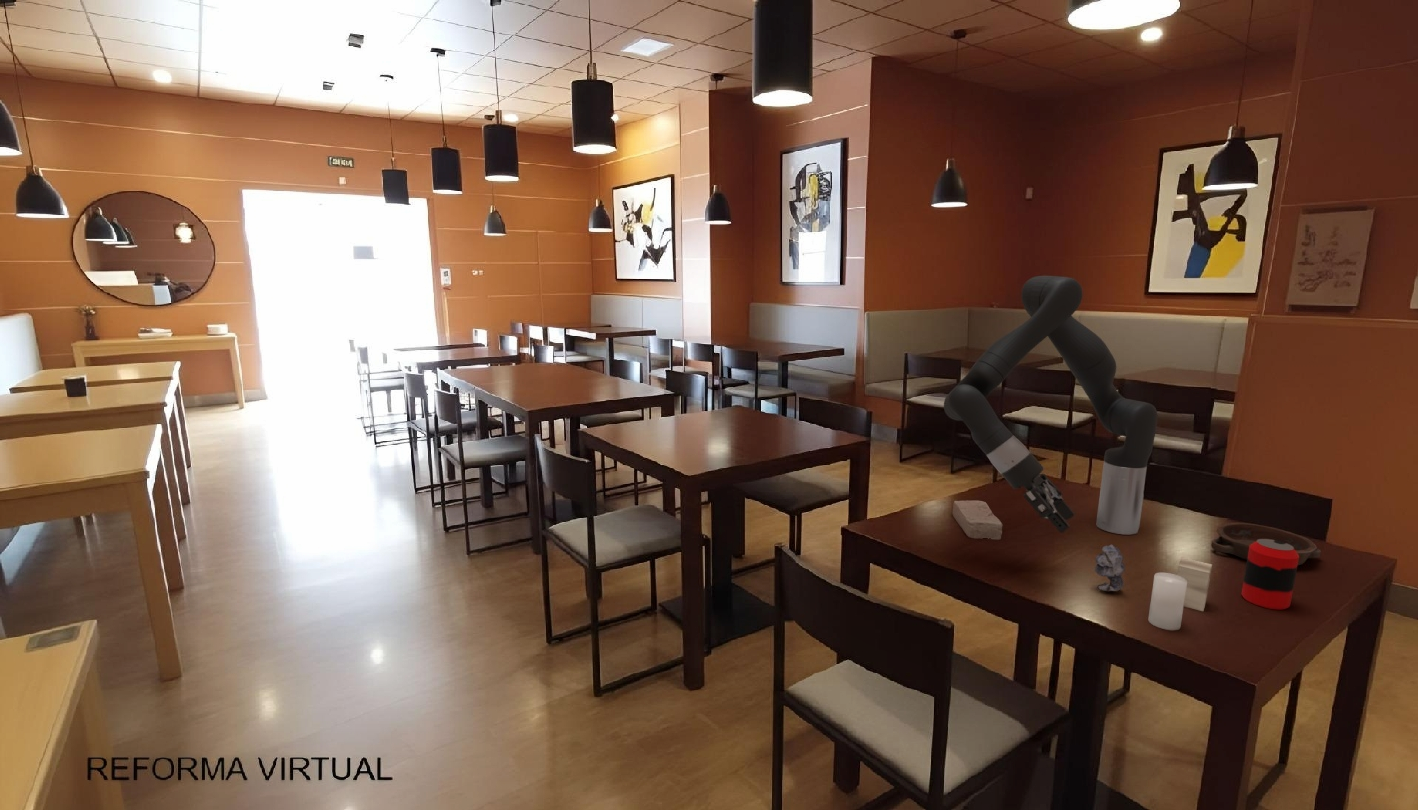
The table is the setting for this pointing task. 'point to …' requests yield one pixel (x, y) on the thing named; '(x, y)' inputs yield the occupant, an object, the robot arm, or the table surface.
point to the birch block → (1195, 582)
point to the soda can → (1270, 574)
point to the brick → (977, 519)
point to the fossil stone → (1110, 568)
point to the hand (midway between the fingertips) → (1068, 523)
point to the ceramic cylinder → (1167, 601)
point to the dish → (1244, 534)
